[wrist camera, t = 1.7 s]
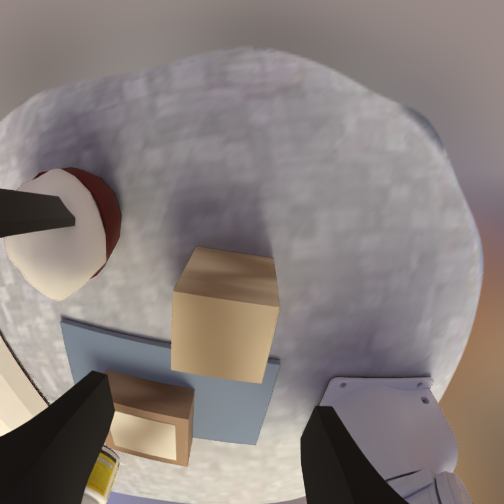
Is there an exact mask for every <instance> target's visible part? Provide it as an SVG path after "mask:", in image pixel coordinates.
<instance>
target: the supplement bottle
mask: <svg viewBox="0 0 504 504" xmlns="http://www.w3.org/2000/svg"><path fill="white" fill-rule="evenodd" d="M119 464H120V460H119V458H118V457H117V455H116V454H115V453H114V452H112V451H111V450H110V449H108V448H106V447H104V446H103V447H102V449H101V452H100V454H99V456H98V458H97V461H96V463H95V465H94V468H93V470H92V472H91V475H90V477H89V479H88V482H87V485H86V488H85V491H84V495H83V499H82V503H81V504H106V503H107V500H108V497H109V494H110V491H111V488H112V485H113V482H114V479H115V476H116V473H117V470H118V467H119Z"/></svg>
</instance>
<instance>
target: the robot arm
mask: <svg viewBox="0 0 504 504" xmlns="http://www.w3.org/2000/svg"><path fill="white" fill-rule="evenodd" d="M433 382H434V381H433V379H432V378H431V377H422V378H343V377H336V378H333V379H332V380H331V381H330V382H329V384H328V387H327V389H326V391H325V394H324V396H323V398H322V400H321V403H320V405H319V406H315V408H314V410H313V413H312V415H311V417H310V419H309V421H308V424H307V426H306V428H305V430H304V432H303V434H302V436H301V439H300V440H301V466H302V473H303V480H304V486H305V493H306V499H307V504H473V503H472V500H471V498H470V496H469V494H468V492H467V490H466V488H465V486H464V485H463V483H462V481H461V479H460V478H459V477H458V475H457V474H455V473H453V471H454V468H455V466H456V463H457V457H458V446H457V441H456V438H455V435H454V433H453V431H452V429H451V427H450V425H449V423H448V421H447V419H446V418H445V416H444V414H443V412H442V410H441V408H440V407H439V405H438V403H437V401H436V399H435V397H434V396H433V394H432V392H431V390H430V388H431V386H432V384H433ZM342 383H344V384H342ZM114 413H115V408H114V403H113V399H112V394H111V389H110V384H109V379H108V375H107V374H104V373H100V372H97V371H93V370H92V371H91V372H89V373H88V374H87V375H86V376H85V377H83V378H82V379H81V380H80V381H79V382H78V383H76V384H75V385H74V386H73V387H72V388H71V389H69V390H68V391H67V392H66V393H65V394H63V395H62V396H61V397H60V398H58V399H57V400H56V401H55V402H53V403H52V404H51V405H50V406H48V407H47V408H46V409H44V410H43V411H41V412H40V413H39V414H37V415H36V416H34V417H33V418H32V419H30V420H29V421H27V422H26V423H24V424H22V425H21V426H19V427H17V428H16V429H14V430H12V431H10V432H8V433H6V434H4V435H2V436H0V504H81V503H82V499H83V495H84V491H85V488H86V485H87V482H88V479H89V477H90V475H91V472H92V470H93V468H94V465H95V463H96V461H97V458H98V456H99V454H100V452H101V449H102V447H103V445H104V443H105V440H106V438H107V436H108V433H109V430H110V427H111V424H112V420H113V417H114Z"/></svg>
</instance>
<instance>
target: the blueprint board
mask: <svg viewBox="0 0 504 504" xmlns="http://www.w3.org/2000/svg"><path fill="white" fill-rule="evenodd" d="M60 324H61V329H62V334H63V339H64V343H65V348H66V352H67V356H68V360H69V364H70V368H71V372H72V376H73V380H74V383H75V384H76V383H78V382H79V381H80V380H81V379H82V378H83V377H85V376H86V375H87V374H88V373H89V372H91V371H92V370H93V371H97V372H100V373H104V372H105V370H106V369H107V370H110V371H114V372H118V373H122V374H125V375H129V376H134V377H138V378H142V379H146V380H151V381H155V382H160V383H165V384H170V385H175V386H180V387H185V388H191V389H195V399H194V417H193V437H195V438H201V439H207V440H214V441H221V442H229V443H238V444H248V445H256V443H257V440H258V437H259V434H260V430H261V427H262V424H263V421H264V418H265V415H266V411H267V408H268V405H269V402H270V398H271V395H272V392H273V388H274V385H275V381H276V378H277V375H278V371H279V368H280V360H274V359H268V360H267V364H266V368H265V372H264V376H263V380H262V384H260V383H252V382H243V381H236V380H228V379H221V378H215V377H208V376H202V375H196V374H190V373H185V372H180V371H174V370H171V344H167V343H162V342H157V341H152V340H148V339H143V338H138V337H134V336H129V335H125V334H121V333H116V332H112V331H108V330H104V329H100V328H96V327H92V326H89V325H85V324H81V323H78V322H74V321H70V320H67V319H62V321H61V322H60Z"/></svg>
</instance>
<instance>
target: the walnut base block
mask: <svg viewBox="0 0 504 504" xmlns="http://www.w3.org/2000/svg"><path fill="white" fill-rule="evenodd" d="M104 374H107V375H108V379H109V384H110V389H111V394H112V399H113V403H114V408H115V413H114V417H113V420H112V424H111V427H110V430H109V433H108V436H107V438H106V440H105V442H106V445H107V447H108V448H111V449H114V450H118V451H121V452H125V453H128V454H132V455H136V456H140V457H144V458H148V459H152V460H156V461H161V462H165V463H170V464H175V465H180V466H186V467H188V462H189V456H190V450H191V445H192V438H193V417H194V399H195V389H191V388H185V387H180V386H175V385H170V384H165V383H160V382H155V381H151V380H146V379H142V378H138V377H134V376H129V375H125V374H122V373H118V372H114V371H110V370H107V369H106V370H105V372H104Z"/></svg>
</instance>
